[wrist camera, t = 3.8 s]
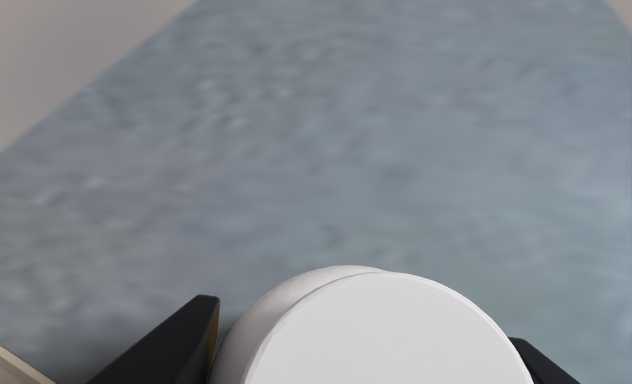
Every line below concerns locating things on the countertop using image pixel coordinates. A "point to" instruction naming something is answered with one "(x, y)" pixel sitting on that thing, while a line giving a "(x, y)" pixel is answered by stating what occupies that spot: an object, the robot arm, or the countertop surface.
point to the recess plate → (19, 371)
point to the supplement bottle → (365, 334)
